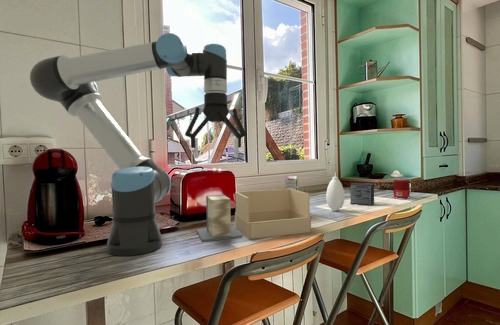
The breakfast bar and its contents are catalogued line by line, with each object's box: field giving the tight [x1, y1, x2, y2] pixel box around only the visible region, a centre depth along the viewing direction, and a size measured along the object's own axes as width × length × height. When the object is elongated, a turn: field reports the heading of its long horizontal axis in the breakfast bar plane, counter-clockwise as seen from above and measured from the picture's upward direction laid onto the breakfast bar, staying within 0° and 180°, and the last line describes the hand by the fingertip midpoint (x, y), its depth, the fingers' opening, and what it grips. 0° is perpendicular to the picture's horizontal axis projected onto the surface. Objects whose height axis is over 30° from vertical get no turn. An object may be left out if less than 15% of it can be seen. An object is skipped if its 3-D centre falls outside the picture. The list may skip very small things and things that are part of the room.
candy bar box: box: [285, 175, 299, 191], centre depth 128 cm, size 11×5×16 cm, turn 168°
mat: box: [196, 225, 243, 243], centre depth 101 cm, size 13×13×1 cm
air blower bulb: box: [325, 171, 346, 212], centre depth 136 cm, size 8×8×18 cm
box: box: [205, 194, 232, 238], centre depth 100 cm, size 6×10×12 cm, turn 18°
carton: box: [234, 188, 312, 240], centre depth 106 cm, size 23×16×13 cm
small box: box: [350, 182, 375, 206], centre depth 151 cm, size 11×6×10 cm, turn 57°
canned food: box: [393, 177, 411, 199], centre depth 168 cm, size 8×8×11 cm
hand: (216, 157), depth 100 cm, fingers open, 13 cm apart
